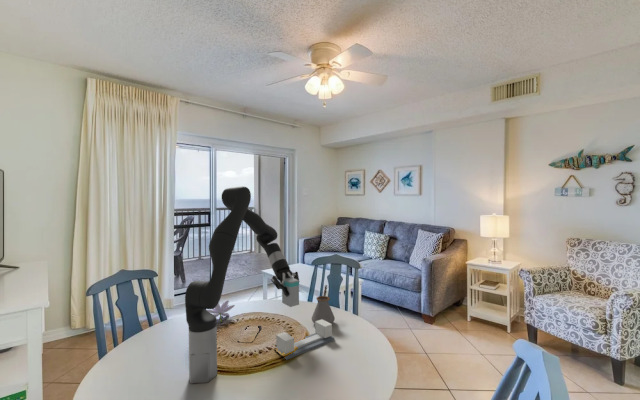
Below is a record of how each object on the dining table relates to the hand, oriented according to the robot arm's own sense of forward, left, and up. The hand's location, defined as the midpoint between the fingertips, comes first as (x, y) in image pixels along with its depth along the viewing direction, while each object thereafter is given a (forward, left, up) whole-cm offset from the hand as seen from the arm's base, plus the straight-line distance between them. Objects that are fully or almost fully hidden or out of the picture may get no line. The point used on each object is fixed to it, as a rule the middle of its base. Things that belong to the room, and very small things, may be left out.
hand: (292, 294), depth 132 cm
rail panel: (-8, -5, -19) cm, 22 cm away
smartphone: (+6, +20, -20) cm, 29 cm away
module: (+2, +1, -5) cm, 5 cm away
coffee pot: (+17, -16, -20) cm, 31 cm away
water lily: (+25, +37, -20) cm, 49 cm away
